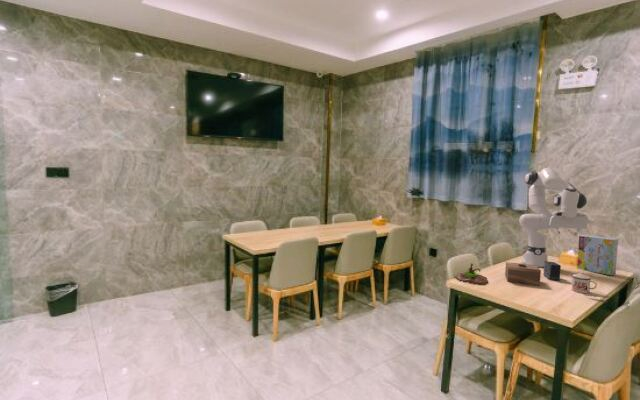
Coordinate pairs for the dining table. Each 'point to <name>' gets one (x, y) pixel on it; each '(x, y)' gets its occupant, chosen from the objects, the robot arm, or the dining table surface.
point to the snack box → (597, 254)
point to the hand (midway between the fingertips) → (567, 234)
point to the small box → (552, 270)
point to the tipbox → (523, 273)
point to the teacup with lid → (581, 283)
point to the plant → (472, 277)
